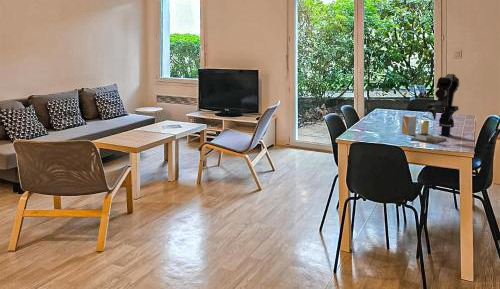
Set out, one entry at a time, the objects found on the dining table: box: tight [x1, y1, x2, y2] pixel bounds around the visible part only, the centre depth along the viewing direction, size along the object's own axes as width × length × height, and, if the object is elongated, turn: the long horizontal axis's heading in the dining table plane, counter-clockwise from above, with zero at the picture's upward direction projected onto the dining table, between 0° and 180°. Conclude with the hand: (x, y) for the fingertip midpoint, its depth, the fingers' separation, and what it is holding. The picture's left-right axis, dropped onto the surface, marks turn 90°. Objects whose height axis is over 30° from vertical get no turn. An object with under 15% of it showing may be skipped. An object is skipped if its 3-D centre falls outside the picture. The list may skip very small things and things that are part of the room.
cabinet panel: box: [410, 136, 447, 144], centre depth 299 cm, size 16×16×1 cm
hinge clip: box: [415, 132, 434, 141], centre depth 297 cm, size 8×8×3 cm
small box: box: [401, 114, 417, 136], centre depth 319 cm, size 8×6×13 cm
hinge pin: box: [420, 119, 430, 136], centre depth 296 cm, size 4×4×12 cm
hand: (441, 120), depth 297 cm, fingers open, 9 cm apart
